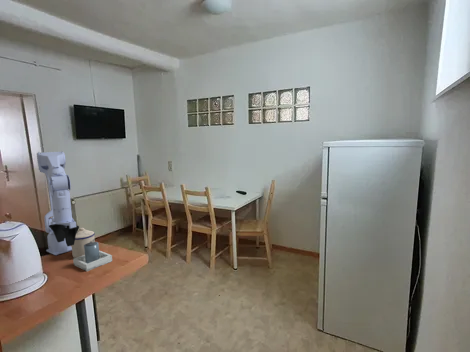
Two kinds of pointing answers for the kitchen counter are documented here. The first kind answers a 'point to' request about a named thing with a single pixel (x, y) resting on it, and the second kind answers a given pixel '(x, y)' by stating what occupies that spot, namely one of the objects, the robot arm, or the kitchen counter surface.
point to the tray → (103, 260)
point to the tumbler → (91, 252)
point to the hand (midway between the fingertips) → (65, 243)
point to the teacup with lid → (82, 241)
